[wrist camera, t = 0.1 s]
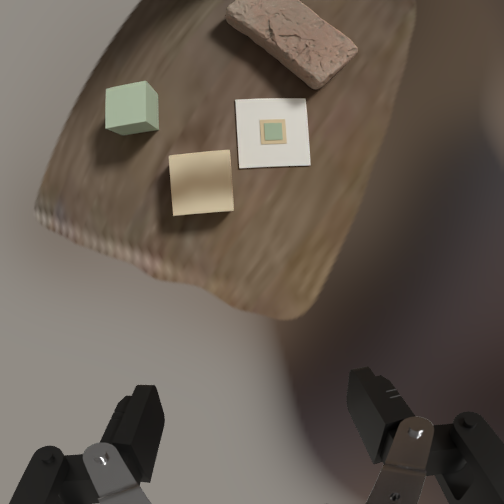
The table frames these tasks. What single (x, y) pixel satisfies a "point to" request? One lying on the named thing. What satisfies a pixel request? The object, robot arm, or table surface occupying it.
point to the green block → (131, 108)
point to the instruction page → (272, 132)
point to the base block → (201, 182)
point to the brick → (293, 37)
